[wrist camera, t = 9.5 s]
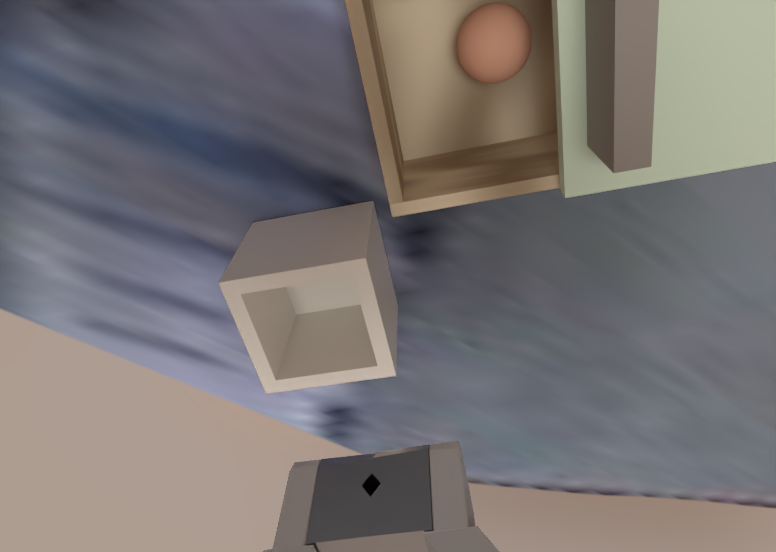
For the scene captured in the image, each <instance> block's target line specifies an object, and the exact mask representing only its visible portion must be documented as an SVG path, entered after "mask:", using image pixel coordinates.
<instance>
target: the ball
mask: <svg viewBox="0 0 776 552" xmlns="http://www.w3.org/2000/svg"><path fill="white" fill-rule="evenodd" d="M531 46H532V34H531V29H530V26H529V23H528V21H527V19H526V18H525V16H524V15H523V14H522V13H521V12H520V11H519V10H518V9H516V8H515V7H513V6H511V5H508V4H505V3H489V4H486V5H483V6H481V7H479V8H477V9H476V10H474V11H473V12H472V13H471V14H470V15H469V16H468V17H467V18H466V19H465V21H464V22H463V24H462V26H461V28H460V30H459V33H458V37H457V55H458V59H459V62H460V64H461V66H462V67H463V69H464V70H465V71H466V73H467V74H468V75H470V76H471V77H472V78H474V79H475V80H478V81H480V82H483V83H499V82H503V81H506V80H508V79H510V78H511V77H513V76H514V75H516V74H517V73H518V72H519V71H520V70H521V69H522V67H523V66H524V65H525V63H526V61H527V59H528V57H529V55H530V51H531Z"/></svg>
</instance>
